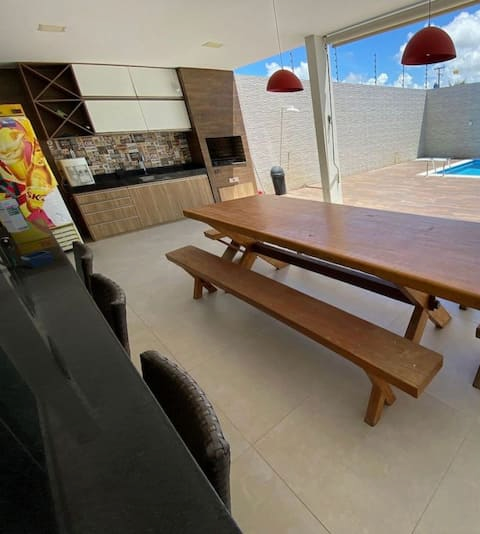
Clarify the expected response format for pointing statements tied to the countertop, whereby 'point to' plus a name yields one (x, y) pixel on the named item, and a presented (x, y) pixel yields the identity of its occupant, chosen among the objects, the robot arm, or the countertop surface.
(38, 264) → the holder
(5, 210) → the syrup box
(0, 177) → the robot arm
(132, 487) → the countertop surface
